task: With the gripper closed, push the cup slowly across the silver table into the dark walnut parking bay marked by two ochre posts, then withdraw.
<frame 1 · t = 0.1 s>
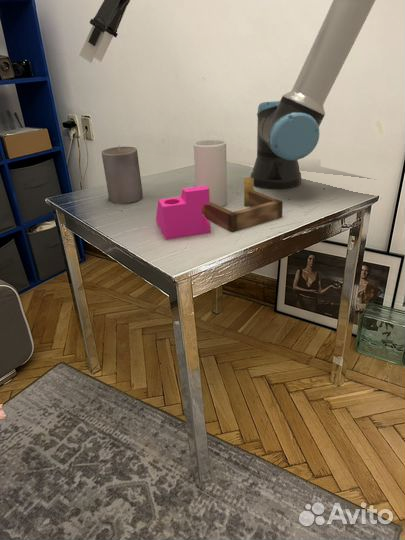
hand: (90, 58, 93), 36 cm above the table, tool tilted 35°, fingers open, 13 cm apart
pillar candle: (126, 199, 115), on the table
bracket: (182, 228, 95), on the table
bay: (240, 216, 99), on the table
cup: (211, 203, 109), on the table
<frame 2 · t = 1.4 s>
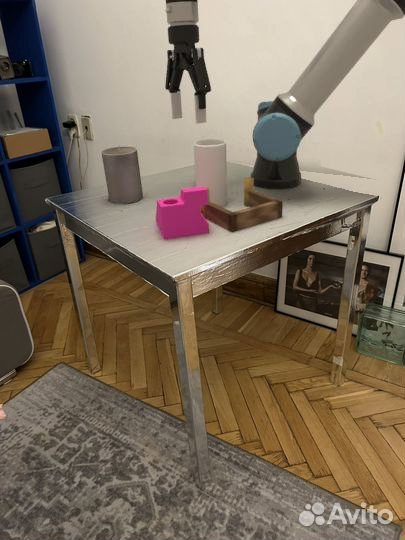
hand: (188, 120, 106), 20 cm above the table, tool pointing down, fingers open, 12 cm apart
nothing on the table moved.
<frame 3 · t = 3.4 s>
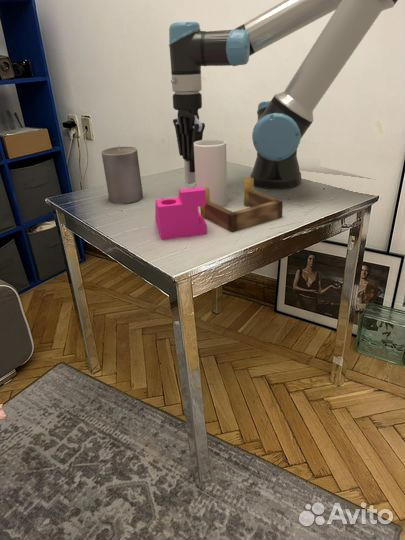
hand: (191, 182, 115), 3 cm above the table, tool pointing down, fingers closed
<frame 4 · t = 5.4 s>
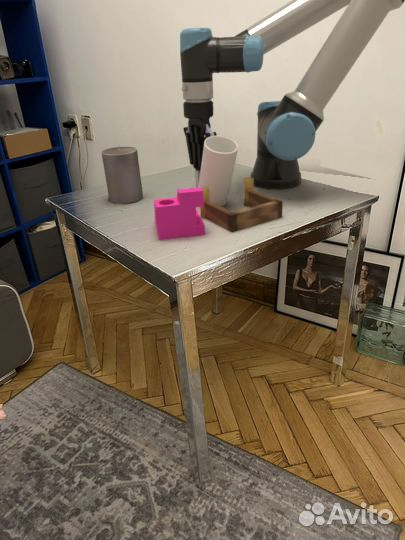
hand: (201, 192, 111), 2 cm above the table, tool pointing down, fingers closed
cup: (212, 199, 108), point 1 cm above the table, touching gripper, hand
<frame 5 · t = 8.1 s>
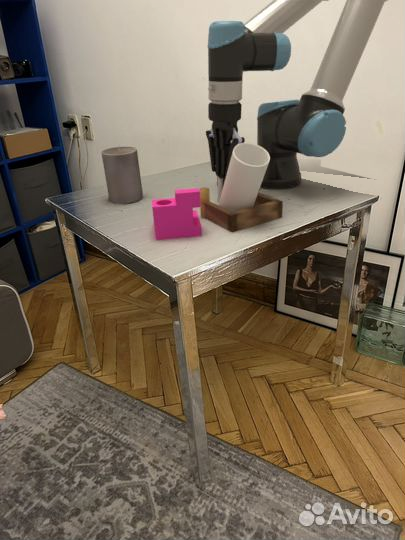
hand: (223, 201, 102), 2 cm above the table, tool pointing down, fingers closed
cup: (234, 208, 99), point 2 cm above the table, touching gripper, hand
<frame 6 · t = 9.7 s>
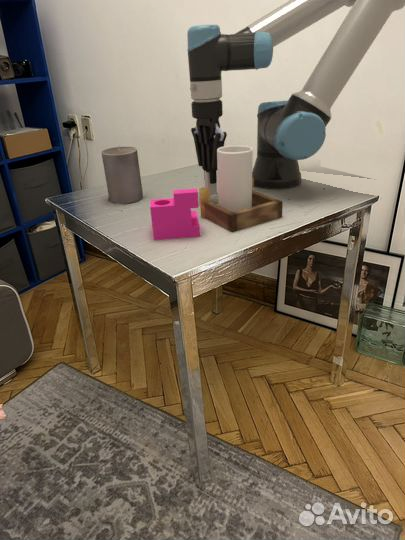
hand: (211, 194, 108), 2 cm above the table, tool pointing down, fingers closed
cup: (235, 215, 100), on the table
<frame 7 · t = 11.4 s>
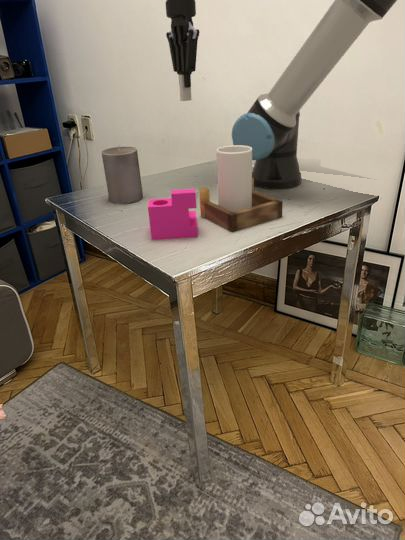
hand: (185, 100, 112), 24 cm above the table, tool pointing down, fingers closed
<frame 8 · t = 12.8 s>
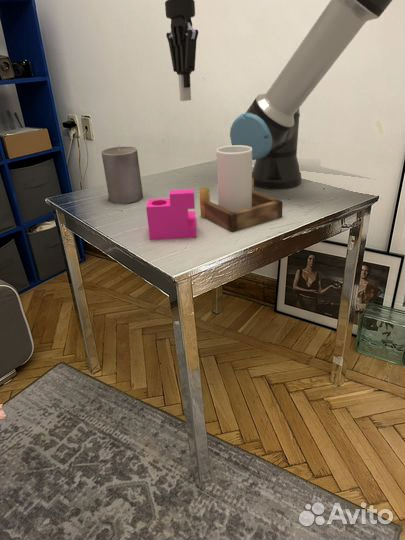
hand: (185, 100, 112), 24 cm above the table, tool pointing down, fingers closed
at the end: cup inside the target area (3.0 cm from its centre), on the table; cup tilted 0° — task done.
